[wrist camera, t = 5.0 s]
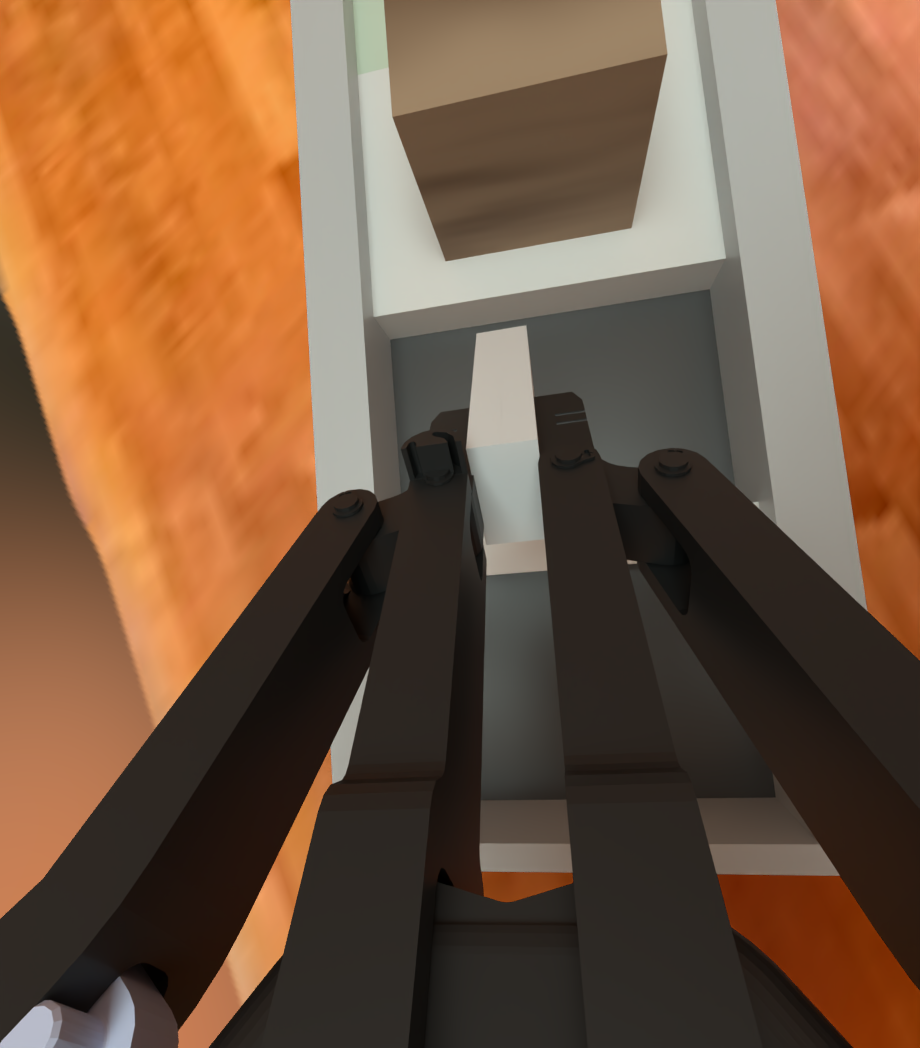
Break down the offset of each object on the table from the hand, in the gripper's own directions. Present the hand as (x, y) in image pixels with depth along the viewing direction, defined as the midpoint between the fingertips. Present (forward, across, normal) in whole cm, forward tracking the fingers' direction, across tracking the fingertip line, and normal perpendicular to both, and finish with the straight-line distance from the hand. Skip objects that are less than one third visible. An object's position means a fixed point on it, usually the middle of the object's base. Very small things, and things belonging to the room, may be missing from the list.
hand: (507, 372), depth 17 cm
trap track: (+12, +2, -1) cm, 12 cm away
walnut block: (+13, +2, +4) cm, 13 cm away
